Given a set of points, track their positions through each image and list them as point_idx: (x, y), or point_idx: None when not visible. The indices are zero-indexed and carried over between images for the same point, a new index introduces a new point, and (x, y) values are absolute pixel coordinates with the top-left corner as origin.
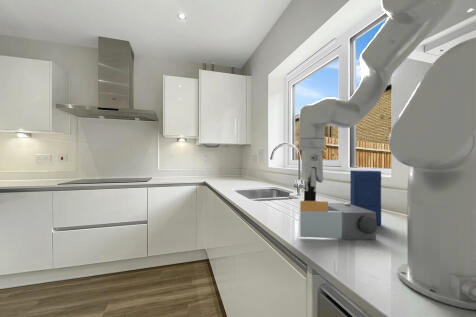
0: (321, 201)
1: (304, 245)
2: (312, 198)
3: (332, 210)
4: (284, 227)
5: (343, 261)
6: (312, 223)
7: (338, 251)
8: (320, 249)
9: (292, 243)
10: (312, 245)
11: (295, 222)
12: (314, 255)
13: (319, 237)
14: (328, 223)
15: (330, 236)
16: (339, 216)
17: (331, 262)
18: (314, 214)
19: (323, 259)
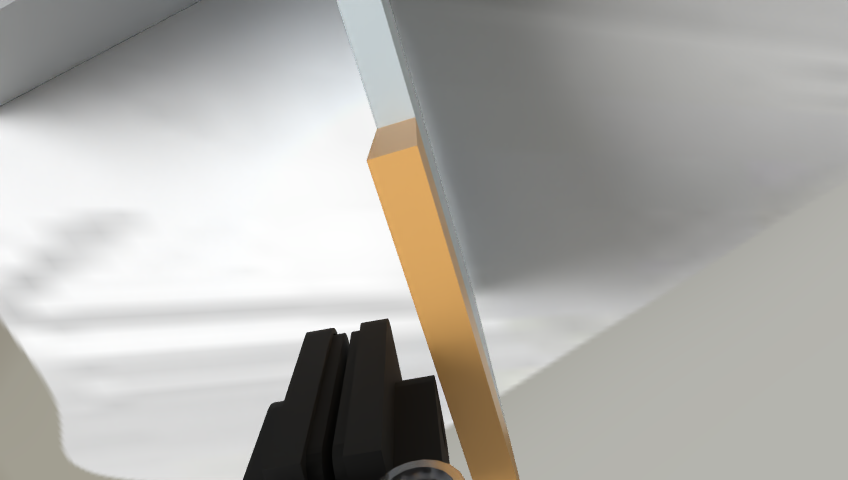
0: (445, 257)
1: (595, 258)
2: (437, 416)
3: (28, 12)
4: (253, 419)
5: (810, 6)
6: (459, 252)
7: (644, 19)
8: (639, 151)
9: (582, 334)
10: (579, 205)
11: (51, 353)
12: (749, 193)
13: (433, 154)
14: (412, 91)
15: (406, 60)
16: None
17: (836, 90)
18: (462, 272)
19: (800, 139)
